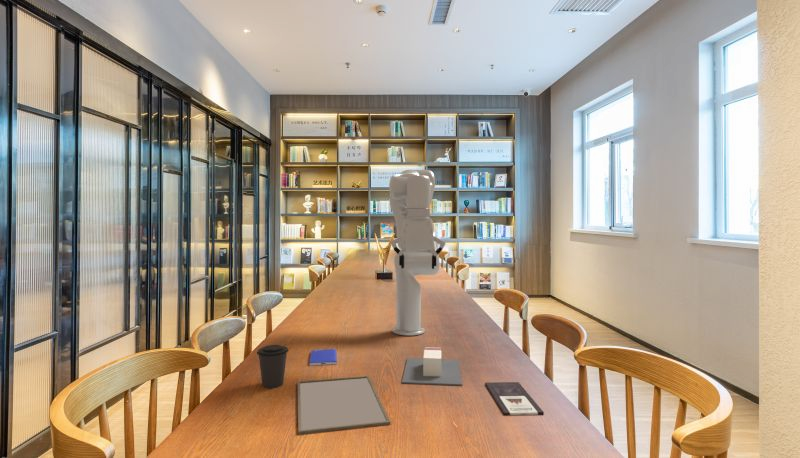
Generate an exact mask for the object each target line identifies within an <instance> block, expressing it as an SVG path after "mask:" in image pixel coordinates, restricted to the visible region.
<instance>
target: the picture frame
mask: <svg viewBox="0 0 800 458" xmlns="http://www.w3.org/2000/svg"><path fill="white" fill-rule="evenodd" d="M297 423H298V424H297V426H298V427H297V428H298V429H297V430H298V433H297V435H308V434H317V433H326V432H335V431H344V430H352V429H353V430H354V429H361V428H370V427H371V428H372V427H381V426H390V425H391V420H390V417H389V415H388V414H387V411H386V409H385V407H384V406H383V403H382V401H381V399H380V397H379V394H378V393H377V391H376V388H375V386H374V384H373V382H372V379H371V378H370V375H365V376H364V375H362V376H360V375H359V376H352V377H351V376H350V377H337V378H327V379H326V378H324V379H312V380H303V381H302V380H301V381H300V380H299V381H297Z"/></svg>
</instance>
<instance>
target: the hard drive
mask: <svg viewBox="0 0 800 458" xmlns="http://www.w3.org/2000/svg"><path fill="white" fill-rule="evenodd" d="M337 353H338V351H337V349H336V348H326V349H325V348H324V349H323V348H322V349H312V350H311V351H310V357H309V365H308V366H310V367H311V366H327V365H338V359H337V358H338V357H337Z"/></svg>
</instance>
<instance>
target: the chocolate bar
mask: <svg viewBox="0 0 800 458" xmlns="http://www.w3.org/2000/svg"><path fill="white" fill-rule="evenodd" d="M484 385H485V387H486V389H487V390H488V391H489V394H490V395H491V396H492V398H493V399H494V401H495V403H496V405H497V404H498V405H497V407H499V410H500V411H501V413H502V414H503V415H504V416H537V415H538V416H540V415H545V414H544V410H542V408H541V407H540V406H539V405H538V404H537V402H536V401H535V400H534V399H533V398H532V397H531V395H530V394H529V393H528V392H527V390H526V389H525V388H524V387H523V385H521V383H520V382H519V381H514V382H513V381H509V382H507V381H505V382H501V381H500V382H499V381H498V382H495V381H493V382H484Z"/></svg>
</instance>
